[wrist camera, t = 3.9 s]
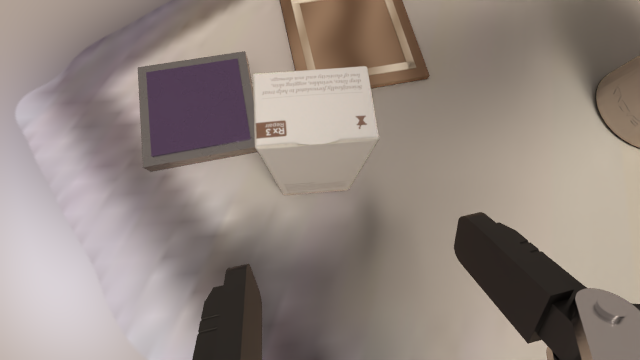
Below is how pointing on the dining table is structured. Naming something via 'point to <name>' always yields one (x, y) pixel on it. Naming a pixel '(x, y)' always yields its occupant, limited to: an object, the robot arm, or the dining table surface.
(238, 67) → the ink pad
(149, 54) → the dining table surface
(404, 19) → the marked board
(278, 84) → the skincare box
